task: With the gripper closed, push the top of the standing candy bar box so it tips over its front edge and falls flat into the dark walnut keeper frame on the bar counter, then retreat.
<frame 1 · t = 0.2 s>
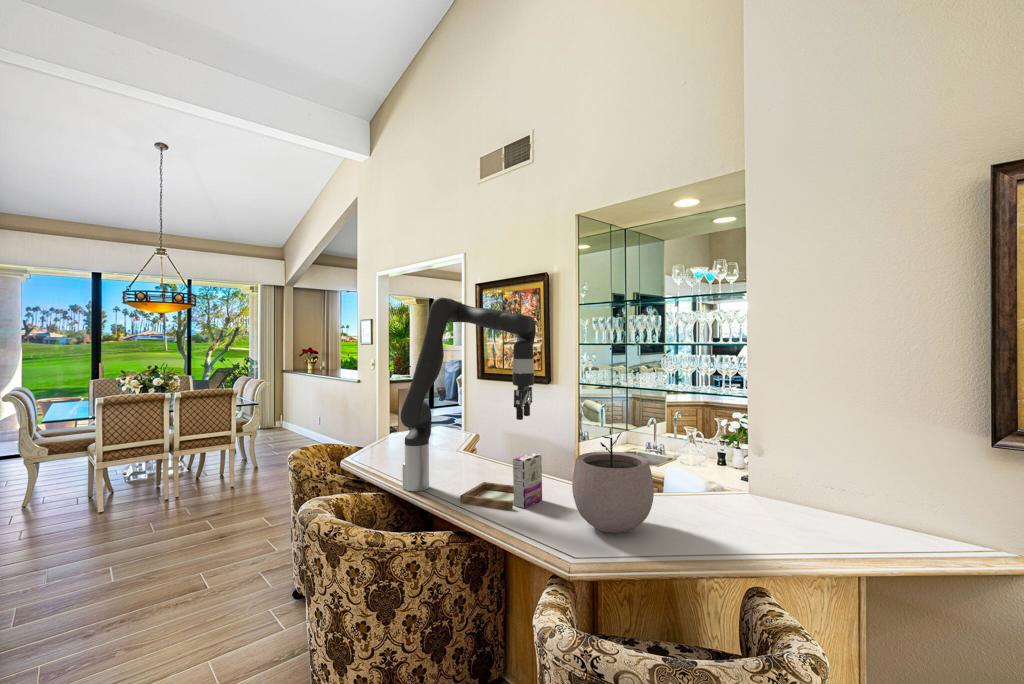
hand: (523, 417, 165), 30 cm above the bar counter, fingers open, 8 cm apart
keeper frame: (498, 498, 169), on the bar counter
candy bar box: (527, 503, 164), on the bar counter
plant pot: (612, 529, 141), on the bar counter
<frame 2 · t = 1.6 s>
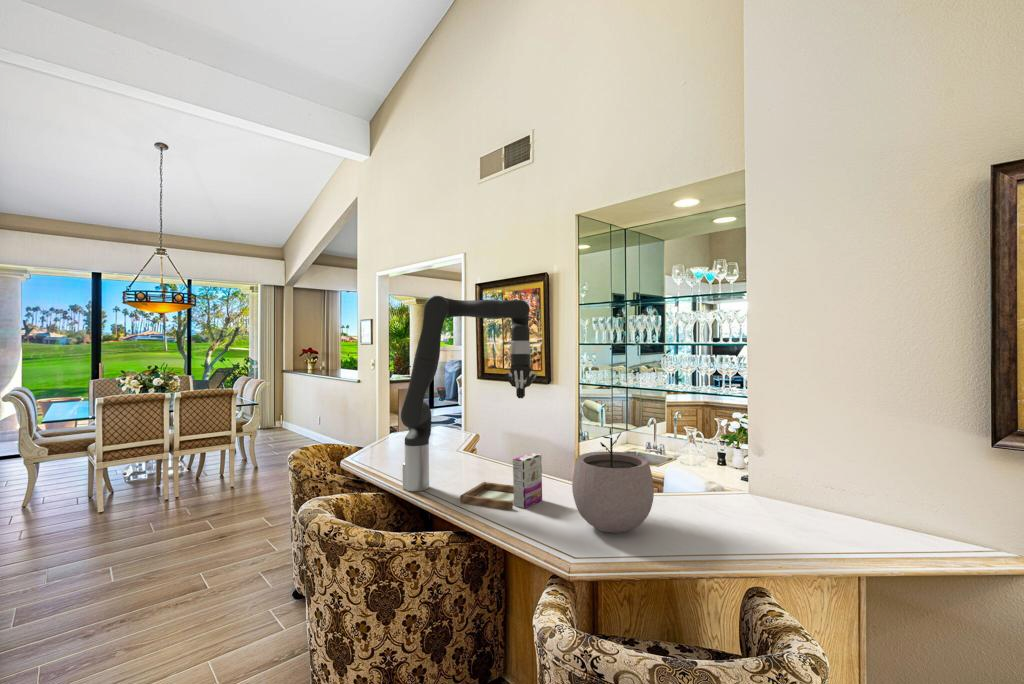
hand: (520, 398, 180), 35 cm above the bar counter, fingers closed
nothing on the bar counter moved.
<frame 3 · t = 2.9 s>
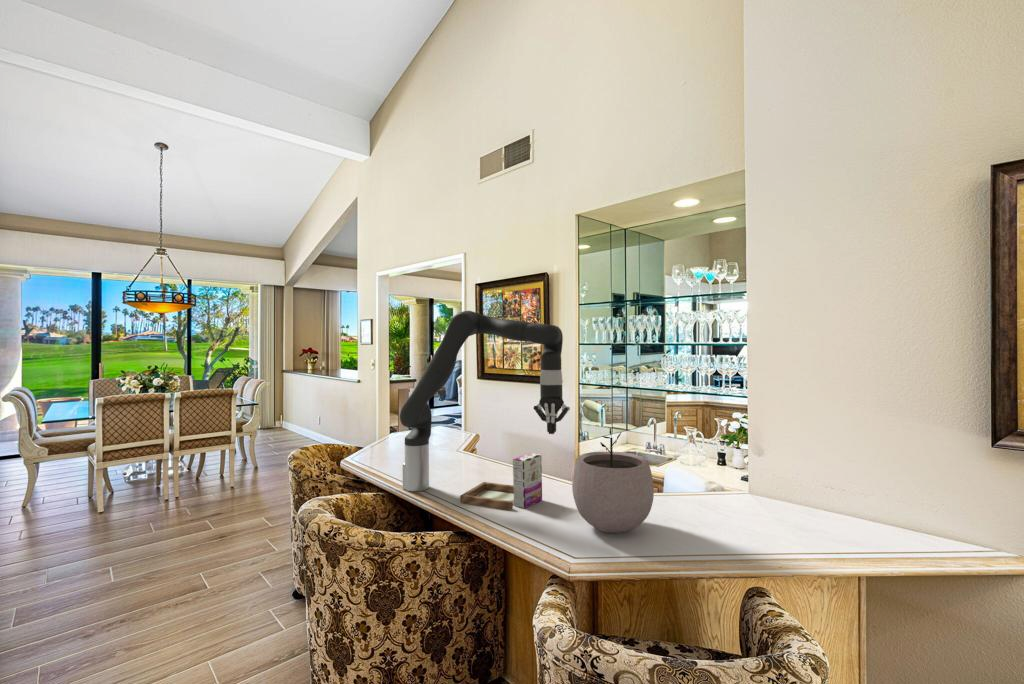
hand: (551, 433, 161), 25 cm above the bar counter, fingers closed
nothing on the bar counter moved.
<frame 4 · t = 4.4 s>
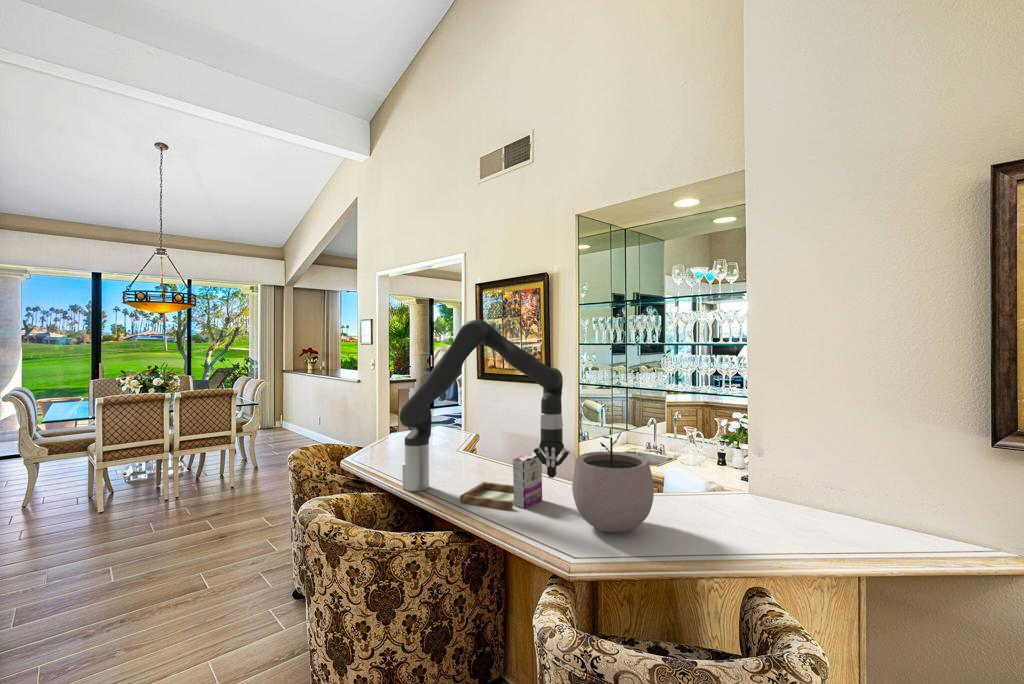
hand: (551, 477, 161), 10 cm above the bar counter, fingers closed
nothing on the bar counter moved.
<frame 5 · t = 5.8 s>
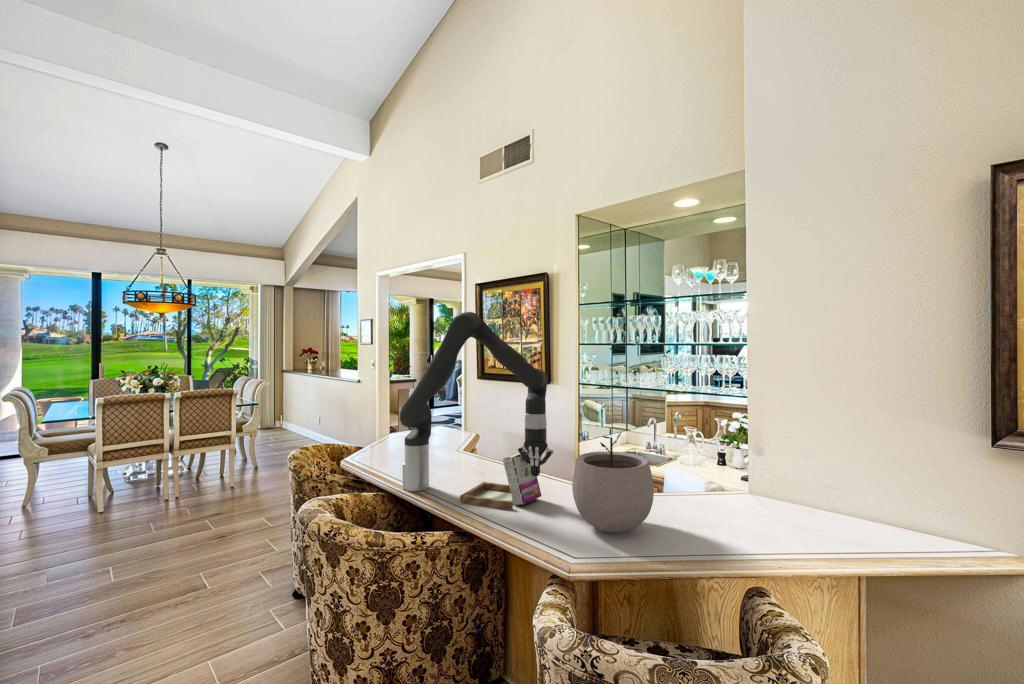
hand: (535, 476, 163), 10 cm above the bar counter, fingers closed
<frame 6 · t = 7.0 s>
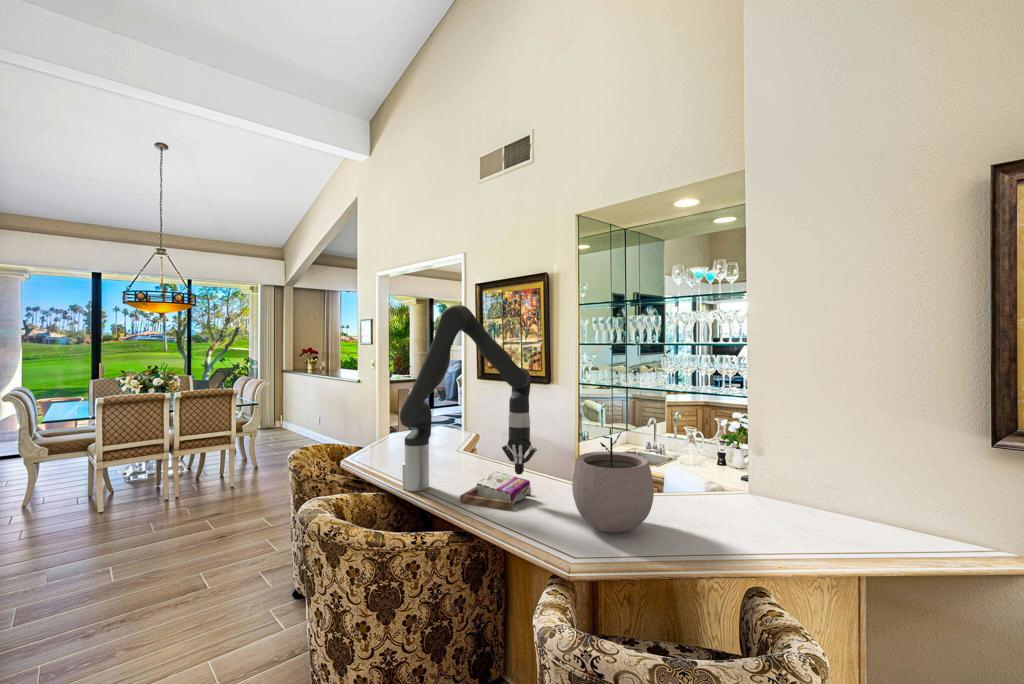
hand: (519, 473, 166), 10 cm above the bar counter, fingers closed
candy bar box: (521, 493, 164), point 3 cm above the bar counter, touching keeper frame
everything else where it was.
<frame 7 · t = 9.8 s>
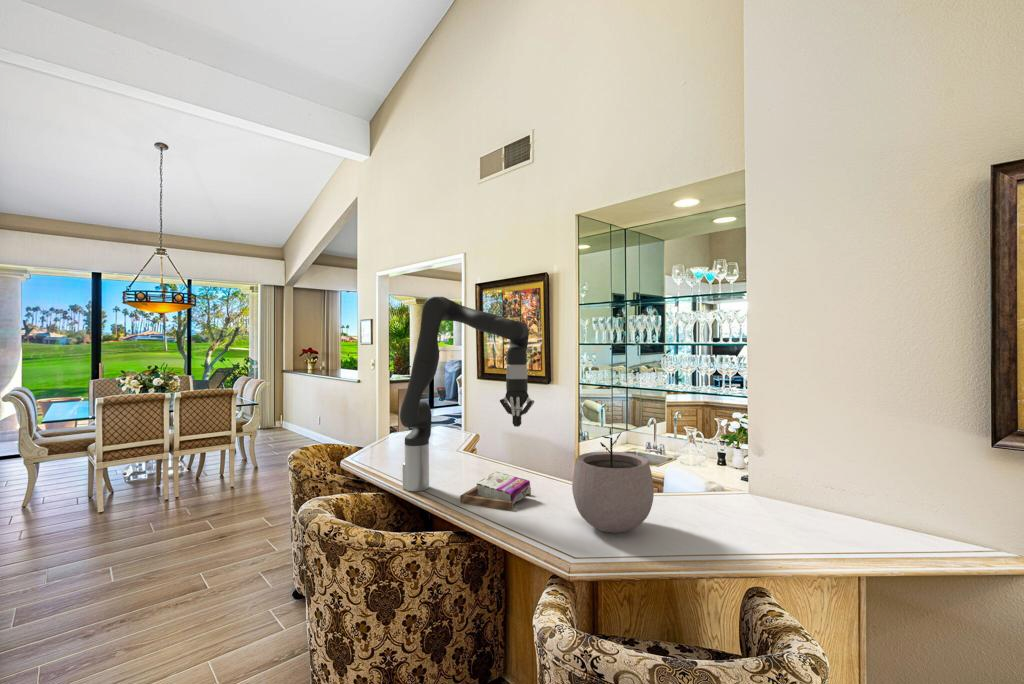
hand: (517, 426, 166), 27 cm above the bar counter, fingers closed
nothing on the bar counter moved.
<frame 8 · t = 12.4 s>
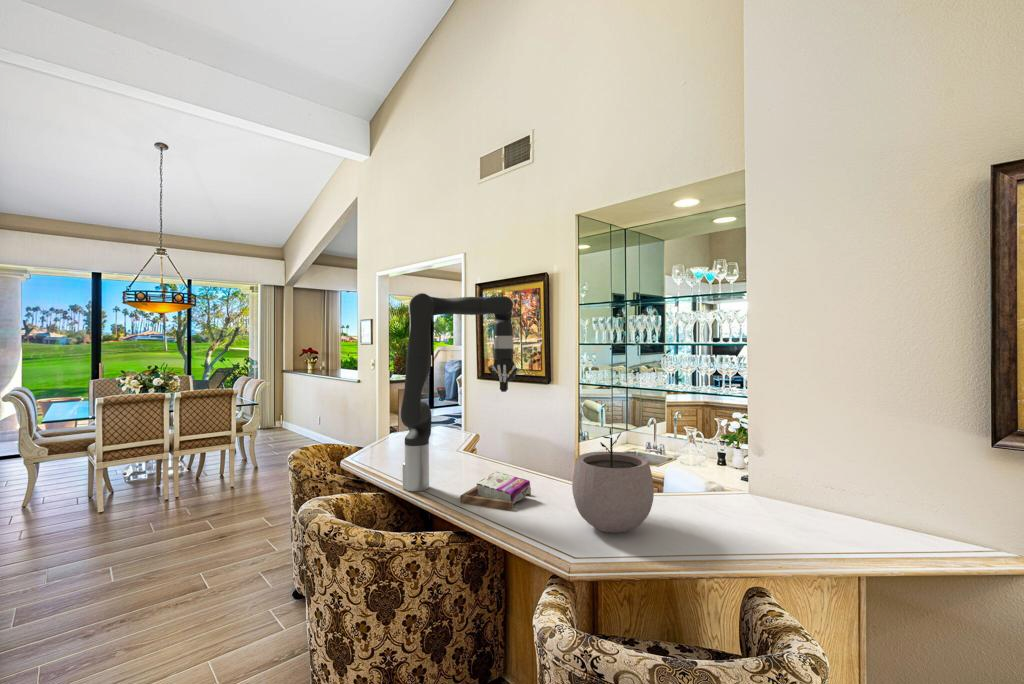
hand: (503, 391, 185), 37 cm above the bar counter, fingers closed
nothing on the bar counter moved.
at the end: candy bar box tilted 87°; candy bar box inside the target area (9.2 cm from its centre), point 3.3 cm above the bar counter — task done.
